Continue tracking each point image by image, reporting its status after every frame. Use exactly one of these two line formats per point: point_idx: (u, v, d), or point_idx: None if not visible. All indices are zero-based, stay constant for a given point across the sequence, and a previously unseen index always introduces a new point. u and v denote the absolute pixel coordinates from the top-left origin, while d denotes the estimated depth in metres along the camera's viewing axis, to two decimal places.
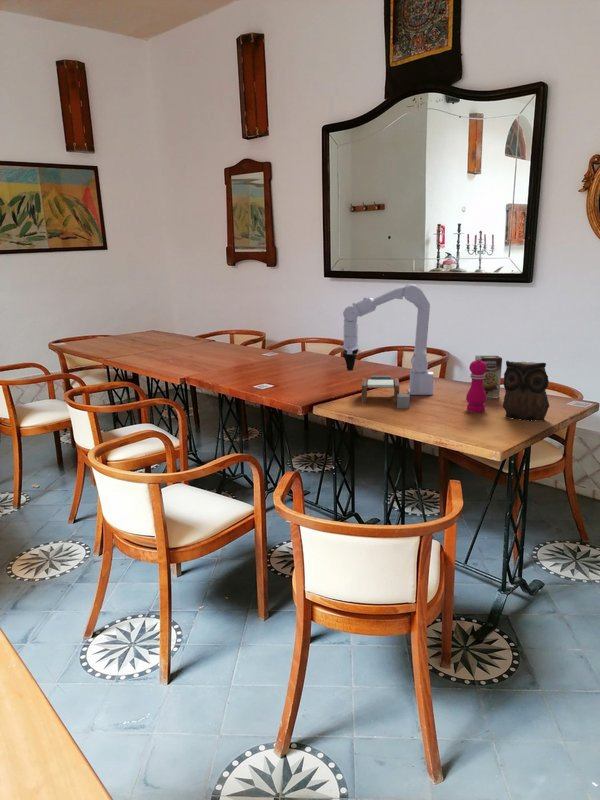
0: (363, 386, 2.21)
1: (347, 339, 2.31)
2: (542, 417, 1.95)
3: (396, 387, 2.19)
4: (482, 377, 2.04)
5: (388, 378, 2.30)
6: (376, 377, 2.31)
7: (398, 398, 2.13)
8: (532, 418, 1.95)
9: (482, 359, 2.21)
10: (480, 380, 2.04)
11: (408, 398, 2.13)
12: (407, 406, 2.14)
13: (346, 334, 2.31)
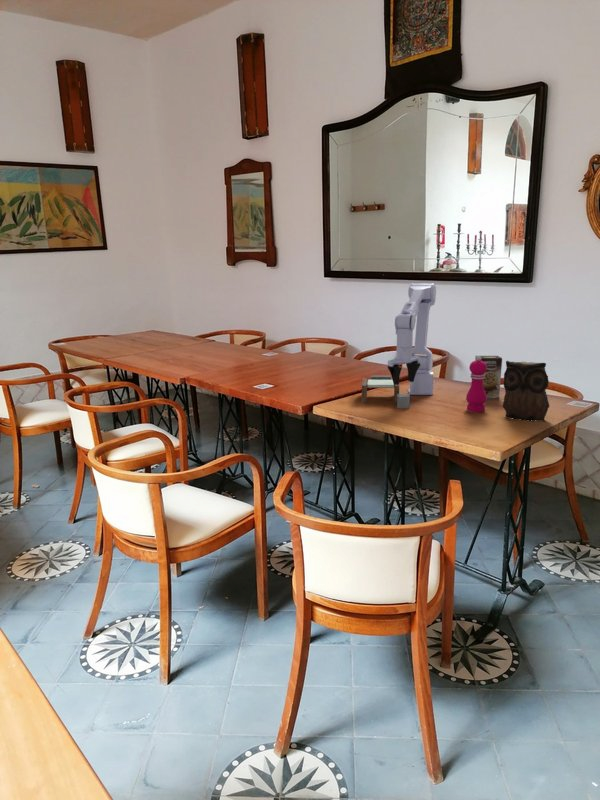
0: (363, 386, 2.21)
1: (397, 350, 2.10)
2: (542, 417, 1.95)
3: (396, 387, 2.19)
4: (482, 377, 2.04)
5: (388, 378, 2.30)
6: (376, 377, 2.31)
7: (398, 398, 2.13)
8: (532, 418, 1.95)
9: (482, 359, 2.21)
10: (480, 380, 2.04)
11: (408, 398, 2.13)
12: (407, 406, 2.14)
13: (409, 345, 2.08)
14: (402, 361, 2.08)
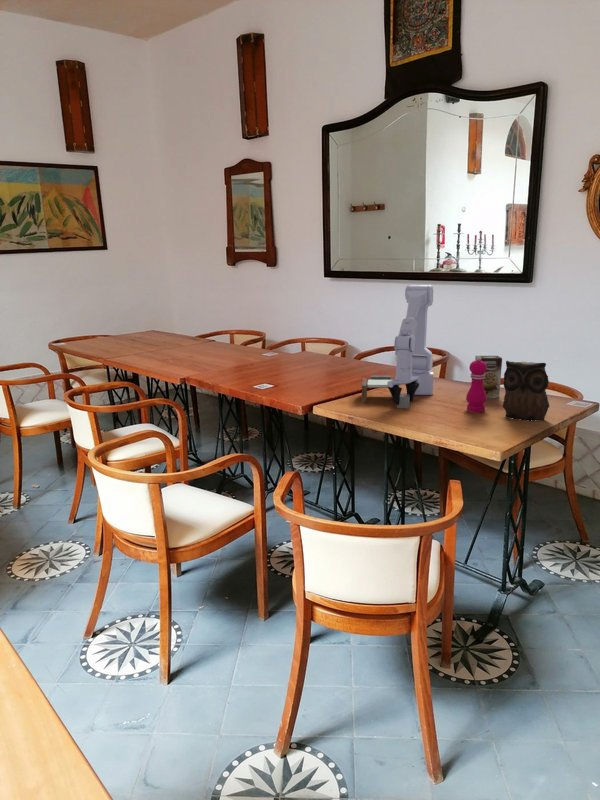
0: (363, 386, 2.21)
1: (396, 370, 2.12)
2: (542, 417, 1.95)
3: None
4: (482, 377, 2.04)
5: (388, 378, 2.30)
6: (376, 377, 2.31)
7: None
8: (532, 418, 1.95)
9: (482, 359, 2.21)
10: (480, 380, 2.04)
11: (408, 398, 2.13)
12: (407, 406, 2.14)
13: (409, 366, 2.10)
14: (402, 382, 2.10)
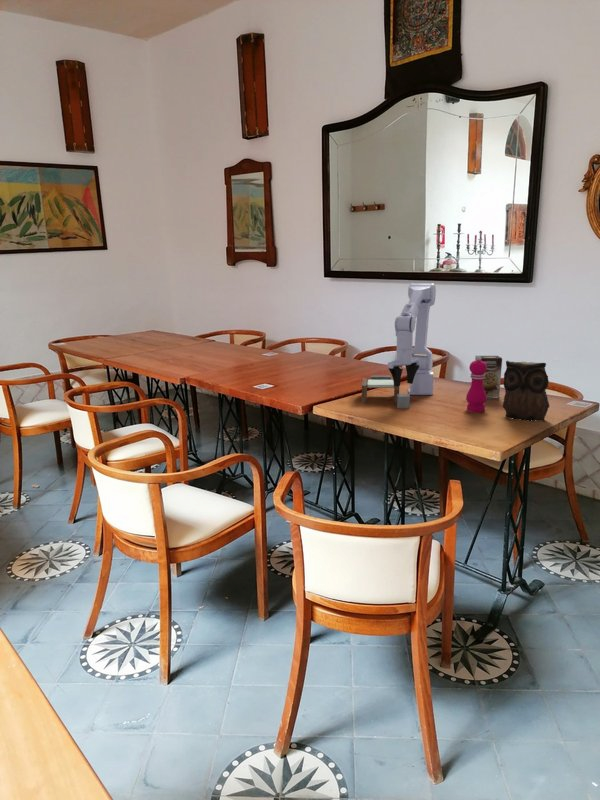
0: (363, 386, 2.21)
1: (397, 352, 2.10)
2: (542, 417, 1.95)
3: (396, 387, 2.19)
4: (482, 377, 2.04)
5: (388, 378, 2.30)
6: (376, 377, 2.31)
7: (398, 398, 2.13)
8: (532, 418, 1.95)
9: (482, 359, 2.21)
10: (480, 380, 2.04)
11: (408, 398, 2.13)
12: (407, 406, 2.14)
13: (409, 347, 2.08)
14: (402, 363, 2.09)
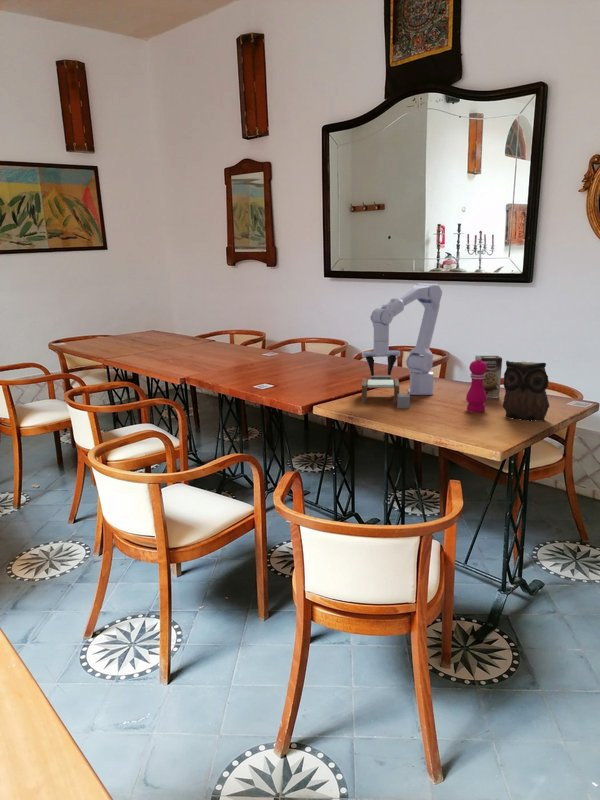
0: (363, 386, 2.21)
1: None
2: (542, 417, 1.95)
3: (396, 387, 2.19)
4: (482, 377, 2.04)
5: (388, 378, 2.30)
6: (376, 377, 2.31)
7: (398, 398, 2.13)
8: (532, 418, 1.95)
9: (482, 359, 2.21)
10: (480, 380, 2.04)
11: (408, 398, 2.13)
12: (407, 406, 2.14)
13: (382, 339, 2.15)
14: (374, 353, 2.17)
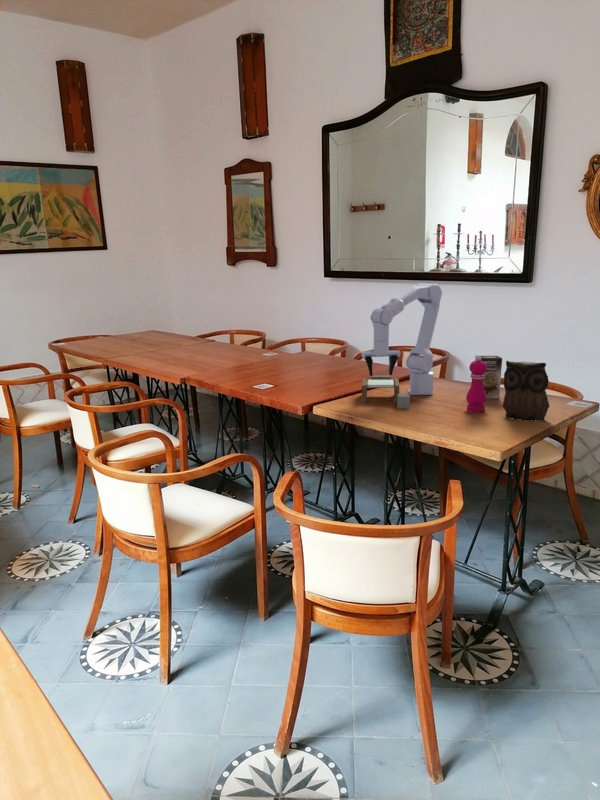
0: (363, 386, 2.21)
1: None
2: (542, 417, 1.95)
3: (396, 387, 2.19)
4: (482, 377, 2.04)
5: (388, 378, 2.30)
6: (376, 377, 2.31)
7: (398, 398, 2.13)
8: (532, 418, 1.95)
9: (482, 359, 2.21)
10: (480, 380, 2.04)
11: (408, 398, 2.13)
12: (407, 406, 2.14)
13: (382, 339, 2.15)
14: (374, 353, 2.17)
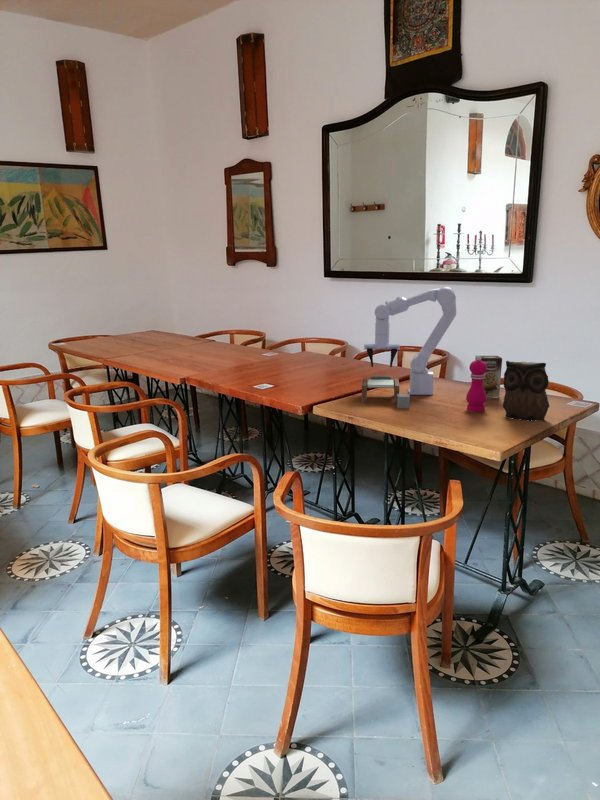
0: (363, 386, 2.21)
1: None
2: (542, 417, 1.95)
3: (396, 387, 2.19)
4: (482, 377, 2.04)
5: (388, 378, 2.30)
6: (376, 377, 2.31)
7: (398, 398, 2.13)
8: (532, 418, 1.95)
9: (482, 359, 2.21)
10: (480, 380, 2.04)
11: (408, 398, 2.13)
12: (407, 406, 2.14)
13: (377, 332, 2.32)
14: (374, 346, 2.33)
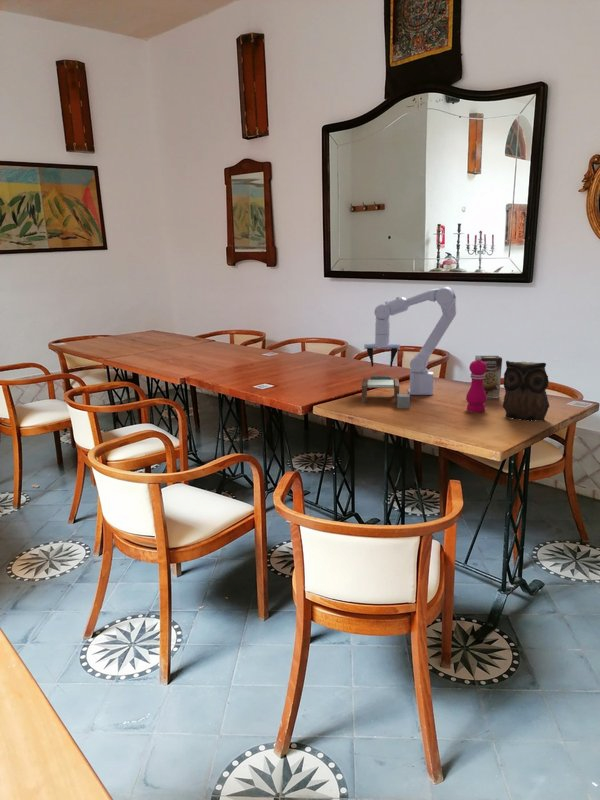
0: (363, 386, 2.21)
1: None
2: (542, 417, 1.95)
3: (396, 387, 2.19)
4: (482, 377, 2.04)
5: (388, 378, 2.30)
6: (376, 377, 2.31)
7: (398, 398, 2.13)
8: (532, 418, 1.95)
9: (482, 359, 2.21)
10: (480, 380, 2.04)
11: (408, 398, 2.13)
12: (407, 406, 2.14)
13: (377, 332, 2.33)
14: (374, 346, 2.34)
